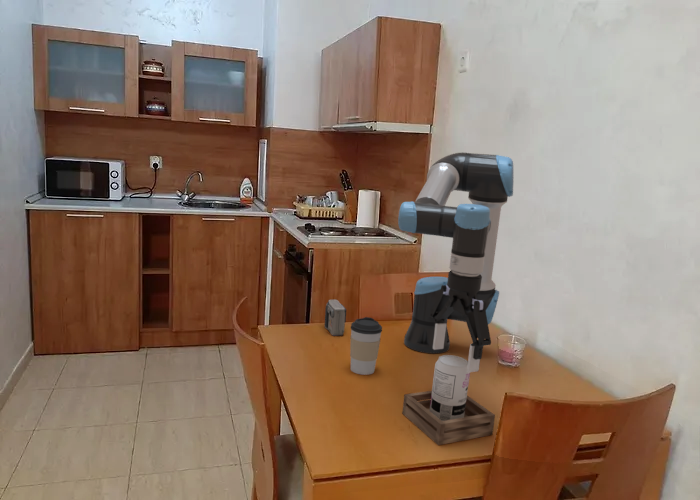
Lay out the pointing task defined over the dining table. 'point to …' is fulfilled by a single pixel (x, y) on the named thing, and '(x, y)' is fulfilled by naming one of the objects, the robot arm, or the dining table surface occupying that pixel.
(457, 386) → the supplement can
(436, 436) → the crate
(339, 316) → the camera
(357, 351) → the coffee cup
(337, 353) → the dining table surface
